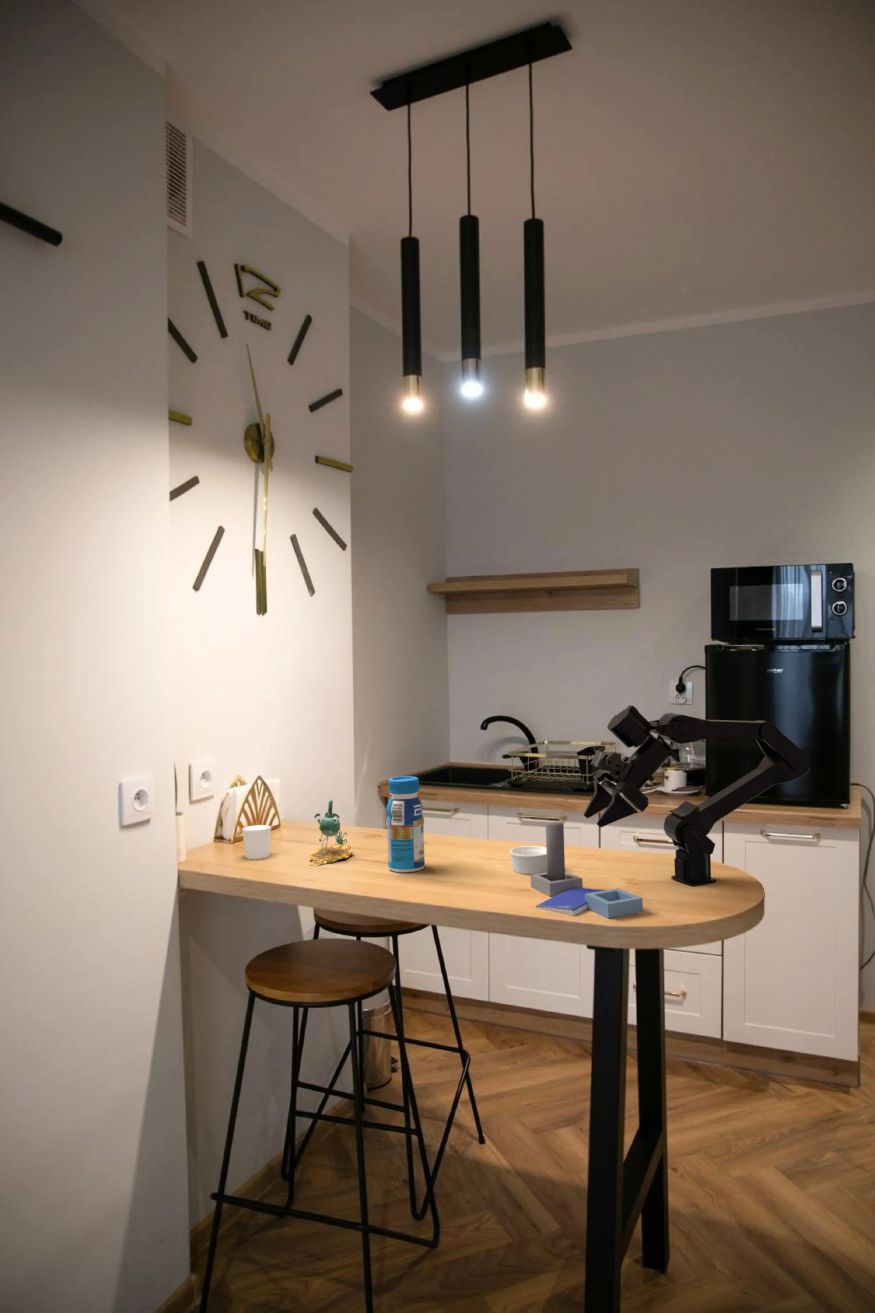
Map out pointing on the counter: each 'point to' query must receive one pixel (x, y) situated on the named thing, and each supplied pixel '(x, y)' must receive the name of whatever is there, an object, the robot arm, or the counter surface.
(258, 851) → the white short cylinder
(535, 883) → the grey square frame
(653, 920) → the counter surface
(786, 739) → the robot arm
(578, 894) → the blue book
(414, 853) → the beverage bottle
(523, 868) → the ramekin
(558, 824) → the plug
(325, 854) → the frog figurine
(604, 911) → the blue bezel
